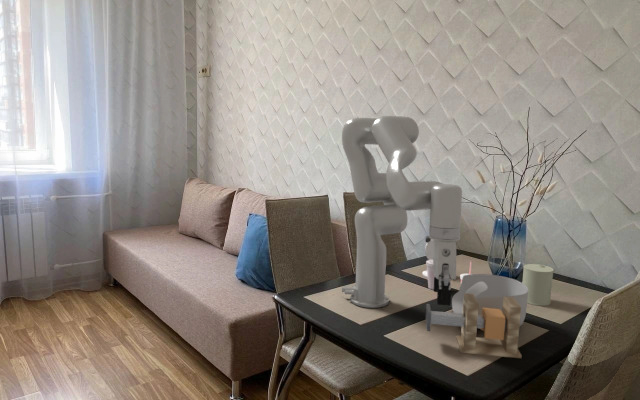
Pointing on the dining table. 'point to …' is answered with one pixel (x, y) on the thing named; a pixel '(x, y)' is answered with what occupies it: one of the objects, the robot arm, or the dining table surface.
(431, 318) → the shaft
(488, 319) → the block
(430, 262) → the smoothie
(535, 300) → the can
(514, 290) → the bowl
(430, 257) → the panda figurine
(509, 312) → the bracket
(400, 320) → the dining table surface
